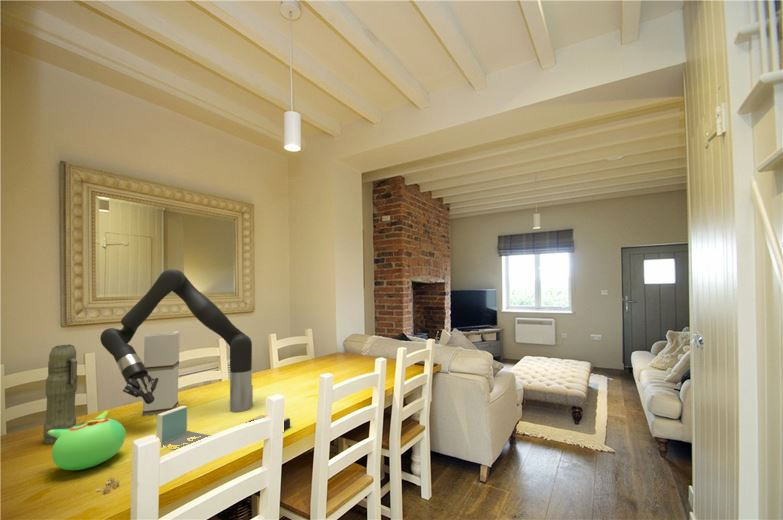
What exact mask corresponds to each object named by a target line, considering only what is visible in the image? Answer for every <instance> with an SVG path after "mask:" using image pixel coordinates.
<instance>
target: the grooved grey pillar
mask: <svg viewBox="0 0 783 520" xmlns="http://www.w3.org/2000/svg"><path fill="white" fill-rule="evenodd" d="M180 332H181V331H167V332H152V333H151V335H144V343H143V345H144V347H143V350H144V351H143V364H144V366H145V368H146V370H147V372H148V375H149V376H151V378H153V379H155V378H158V379H159V380H158V382H157V385H156V388H155V390H154V391H153V393H152V395H153V396H154V401H153V403H151V404H147V403H145V401H144V399H143V398H142V417H146V415H148V416H154V415H153V414H156V415H158V414H160V413H163V412H166V411H169V410H172V409H175V408H178V406H179V368H180V342H181V341H180V338H181V337H180V336H181V335H180V334H181V333H180ZM151 386H152V385H151V382H150V388H151ZM177 405H178V406H177Z"/></svg>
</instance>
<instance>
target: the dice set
mask: <svg viewBox="0 0 783 520" xmlns="http://www.w3.org/2000/svg"><path fill="white" fill-rule="evenodd" d="M111 487H112V489H117V488H118V487H120V480H115V477H109V478H108V479H107V481H106V482H105V486H104V487H103V488H101V487H100V488H97V489H96V490H95V493H100V492H101V493H103V495H106V494H109V493H110V492H111Z"/></svg>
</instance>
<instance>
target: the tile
mask: <svg viewBox="0 0 783 520" xmlns="http://www.w3.org/2000/svg"><path fill="white" fill-rule="evenodd" d="M187 431H188V406H186V405H181V406H177V407H176V408H175V409H172V410H169V411H166V412H163V413H160V414H156V438H157V437H159V439H160V442H161V444H163V443H165V442H168V441H170V440H172V439H174V438H177V437H179V436H181V435H184V434H186V433H187Z"/></svg>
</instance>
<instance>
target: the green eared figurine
mask: <svg viewBox="0 0 783 520" xmlns="http://www.w3.org/2000/svg"><path fill="white" fill-rule="evenodd" d="M109 414H110V410H104V412H102V413H101V414H98V415H97V416H95V418H93V419H90V420H86V421H83V422H80V423H78V424H76V426H74V427H72V428H70V429H54V430H50V431H48V432H47V433H48V434H49V435H51V436H53V437H55V438H58V439H57V440H56V442H55V444H53V445H52V449H51V458H52V459H51V460H52V462H53V463H54V464H55V465H56V467H58V468H60V469H62V470H66V471H79V470H80V471H81V470H85V469H86V470H87V469H89V468H93V467H96V466H98V465H100V464H102V463H105V462H106V461H108V460H109V459H111V458H112V457H113V456H115V455H116V454H117V453H118V452H119V451H120V450H121V448H122V447H123V445H124V443H125V440H126V430H125V426H123V424H122V423H121V422H119V421H117V420H116V419H112V418H107V417H108V415H109Z"/></svg>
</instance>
